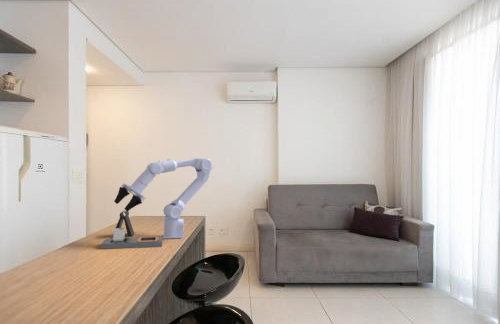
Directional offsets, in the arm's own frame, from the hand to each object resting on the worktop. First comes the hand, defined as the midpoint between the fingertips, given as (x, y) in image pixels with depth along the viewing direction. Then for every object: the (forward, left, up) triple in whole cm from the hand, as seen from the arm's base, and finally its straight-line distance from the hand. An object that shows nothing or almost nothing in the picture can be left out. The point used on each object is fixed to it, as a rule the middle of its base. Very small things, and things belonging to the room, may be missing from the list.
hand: (120, 206), depth 128 cm
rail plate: (-7, +6, -16) cm, 18 cm away
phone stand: (0, -14, -16) cm, 22 cm away
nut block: (-1, +6, -16) cm, 17 cm away
